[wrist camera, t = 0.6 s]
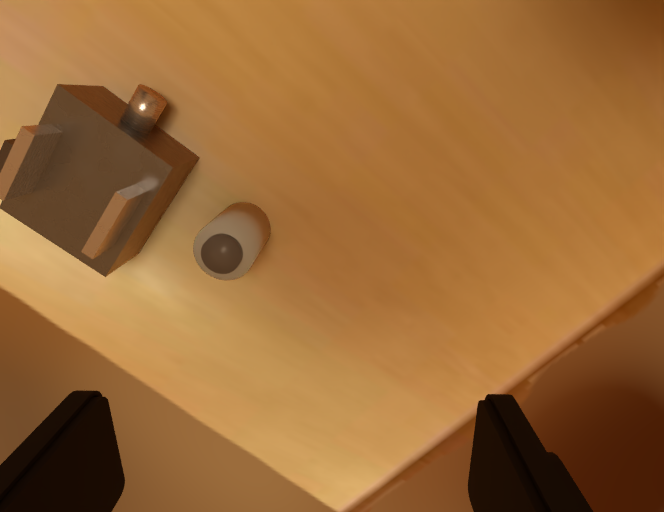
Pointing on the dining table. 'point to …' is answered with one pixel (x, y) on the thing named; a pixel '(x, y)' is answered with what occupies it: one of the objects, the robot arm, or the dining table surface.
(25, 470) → the robot arm
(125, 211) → the box with side knob
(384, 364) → the dining table surface
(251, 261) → the toy camera lens
